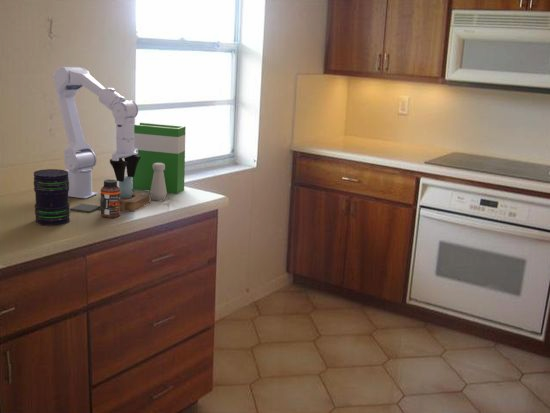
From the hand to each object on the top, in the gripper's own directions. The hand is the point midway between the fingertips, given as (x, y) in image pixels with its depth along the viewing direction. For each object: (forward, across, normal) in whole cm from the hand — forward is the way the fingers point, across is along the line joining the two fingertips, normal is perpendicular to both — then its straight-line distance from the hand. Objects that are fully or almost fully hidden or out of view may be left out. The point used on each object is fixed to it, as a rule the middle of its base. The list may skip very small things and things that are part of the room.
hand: (125, 178), depth 205 cm
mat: (+9, -10, +9) cm, 16 cm away
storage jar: (+9, -26, +11) cm, 30 cm away
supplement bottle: (+9, -13, -2) cm, 16 cm away
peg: (+9, 0, 0) cm, 9 cm away
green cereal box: (+9, +26, 0) cm, 27 cm away
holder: (+9, 0, 0) cm, 9 cm away
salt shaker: (+9, +12, -6) cm, 16 cm away
